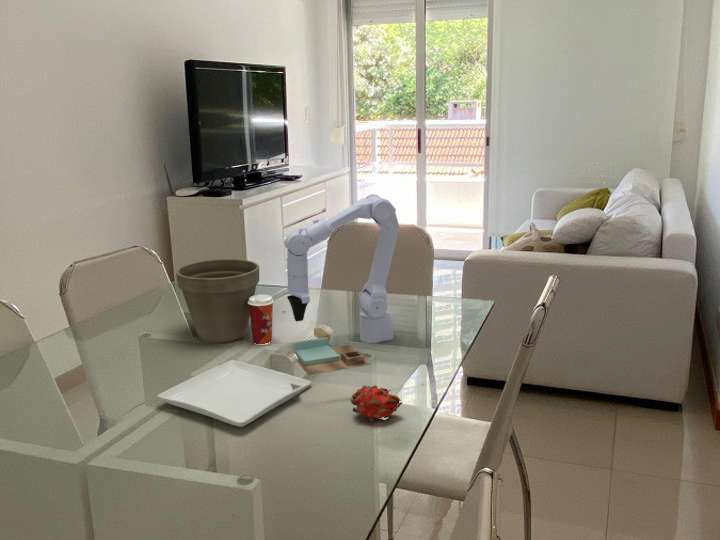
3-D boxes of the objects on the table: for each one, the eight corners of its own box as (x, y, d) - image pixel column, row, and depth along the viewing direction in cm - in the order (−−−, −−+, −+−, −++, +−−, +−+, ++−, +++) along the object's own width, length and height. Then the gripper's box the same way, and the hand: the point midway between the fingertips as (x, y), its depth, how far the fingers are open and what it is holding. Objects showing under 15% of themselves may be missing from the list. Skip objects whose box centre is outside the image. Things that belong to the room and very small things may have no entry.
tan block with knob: (330, 350, 203) (330, 334, 202) (323, 352, 202) (323, 335, 201) (320, 343, 209) (320, 327, 208) (313, 344, 208) (313, 328, 207)
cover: (327, 347, 201) (327, 337, 200) (339, 359, 192) (339, 349, 191) (293, 352, 198) (293, 342, 197) (304, 365, 189) (304, 354, 188)
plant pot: (178, 326, 224) (173, 260, 219) (254, 318, 232) (251, 254, 226) (184, 353, 201) (179, 281, 196) (269, 344, 209) (266, 274, 203)
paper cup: (270, 347, 206) (268, 302, 202) (245, 345, 207) (243, 300, 204) (278, 338, 213) (277, 294, 210) (254, 336, 215) (252, 293, 211)
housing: (349, 349, 204) (349, 338, 203) (371, 369, 190) (371, 357, 189) (290, 358, 198) (290, 347, 197) (308, 380, 183) (308, 367, 182)
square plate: (242, 438, 154) (241, 422, 153) (155, 408, 168) (154, 394, 167) (313, 393, 177) (313, 378, 176) (232, 370, 191) (231, 357, 190)
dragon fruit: (347, 421, 164) (397, 428, 164) (348, 415, 156) (401, 423, 156) (352, 385, 167) (401, 393, 167) (353, 378, 159) (405, 385, 159)
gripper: (276, 269, 202) (278, 314, 205) (291, 282, 189) (293, 330, 192) (300, 267, 204) (301, 311, 208) (316, 279, 191) (317, 326, 195)
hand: (299, 320), depth 200 cm, fingers closed
